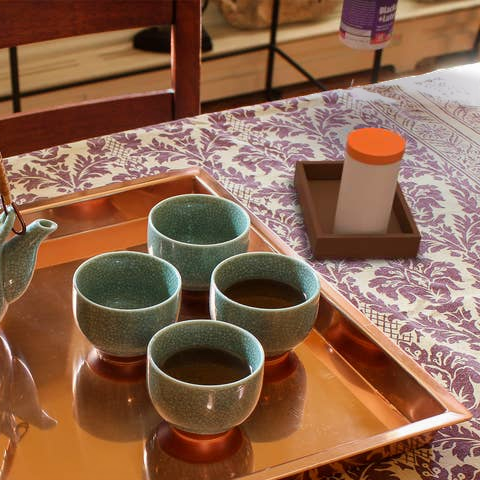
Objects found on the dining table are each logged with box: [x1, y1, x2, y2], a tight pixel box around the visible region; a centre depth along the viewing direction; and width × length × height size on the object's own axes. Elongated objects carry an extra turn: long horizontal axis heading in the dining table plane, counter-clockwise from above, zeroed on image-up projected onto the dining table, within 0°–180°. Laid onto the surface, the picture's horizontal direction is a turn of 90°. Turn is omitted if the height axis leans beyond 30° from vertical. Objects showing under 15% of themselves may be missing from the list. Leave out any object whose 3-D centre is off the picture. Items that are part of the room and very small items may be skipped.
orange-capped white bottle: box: [333, 127, 407, 234], centre depth 88 cm, size 5×5×10 cm
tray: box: [293, 160, 422, 261], centre depth 93 cm, size 14×10×2 cm
